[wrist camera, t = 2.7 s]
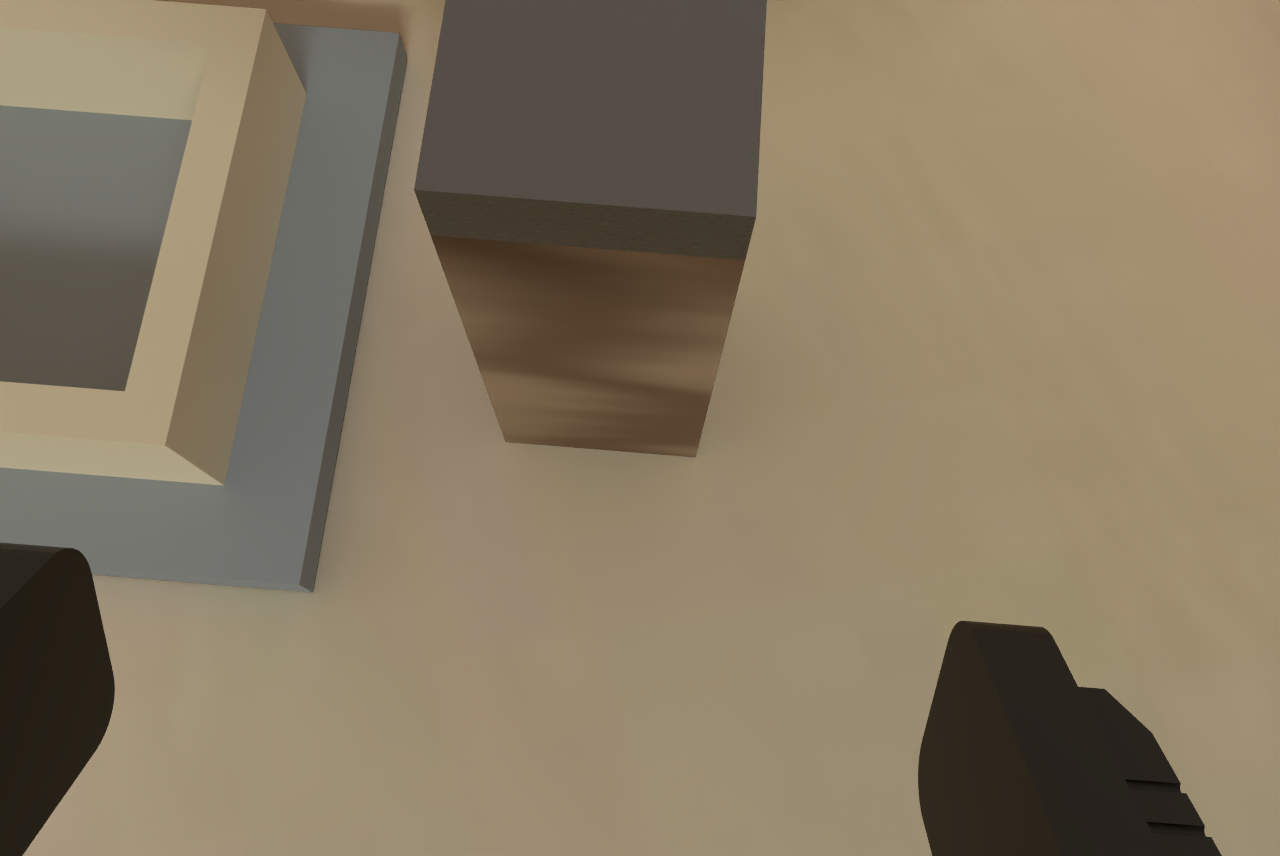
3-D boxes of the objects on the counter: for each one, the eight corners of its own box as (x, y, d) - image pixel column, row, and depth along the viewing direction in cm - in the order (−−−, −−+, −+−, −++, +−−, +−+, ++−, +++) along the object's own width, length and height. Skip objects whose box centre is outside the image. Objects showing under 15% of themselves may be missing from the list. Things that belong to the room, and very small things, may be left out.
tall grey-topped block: (706, 284, 25) (769, -59, 14) (695, 457, 24) (755, 217, 13) (527, 270, 25) (459, -83, 14) (505, 441, 24) (414, 190, 13)
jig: (407, 58, 27) (371, -58, 23) (312, 592, 22) (249, 558, 19) (-123, 17, 27) (-247, -106, 23) (-319, 540, 22) (-510, 496, 19)
